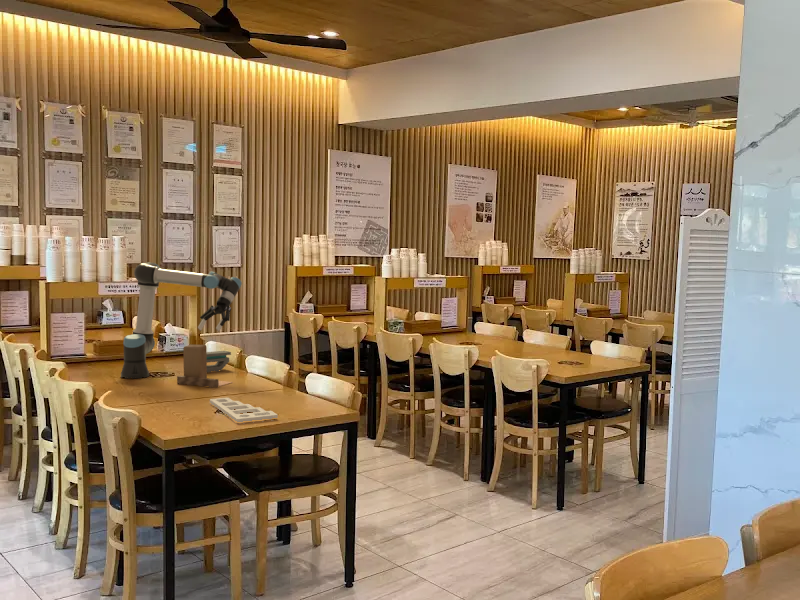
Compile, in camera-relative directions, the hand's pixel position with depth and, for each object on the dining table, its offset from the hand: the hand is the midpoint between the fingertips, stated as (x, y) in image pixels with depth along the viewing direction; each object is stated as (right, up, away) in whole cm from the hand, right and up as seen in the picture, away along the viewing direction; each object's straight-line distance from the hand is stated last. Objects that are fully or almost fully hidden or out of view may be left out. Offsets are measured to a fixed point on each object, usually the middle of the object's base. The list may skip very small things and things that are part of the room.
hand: (208, 329), depth 414 cm
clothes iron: (-7, -26, +27) cm, 38 cm away
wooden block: (-5, -29, -8) cm, 30 cm away
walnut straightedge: (-1, -29, -18) cm, 34 cm away
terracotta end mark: (+8, -29, -13) cm, 33 cm away
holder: (+36, -35, -78) cm, 93 cm away
